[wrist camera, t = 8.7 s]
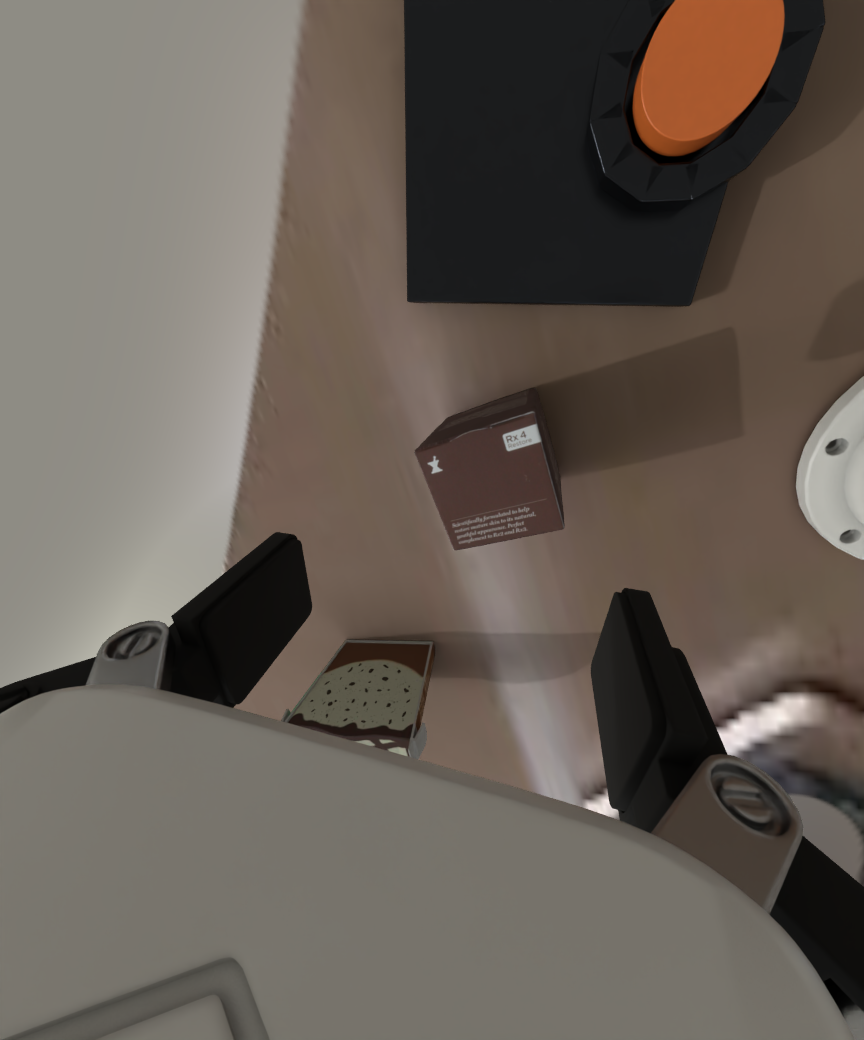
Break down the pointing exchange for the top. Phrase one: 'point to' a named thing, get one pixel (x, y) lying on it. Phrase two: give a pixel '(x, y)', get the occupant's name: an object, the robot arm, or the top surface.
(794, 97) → the scale
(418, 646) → the food container
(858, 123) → the top surface
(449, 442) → the box
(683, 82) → the button
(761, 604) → the top surface
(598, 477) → the top surface
